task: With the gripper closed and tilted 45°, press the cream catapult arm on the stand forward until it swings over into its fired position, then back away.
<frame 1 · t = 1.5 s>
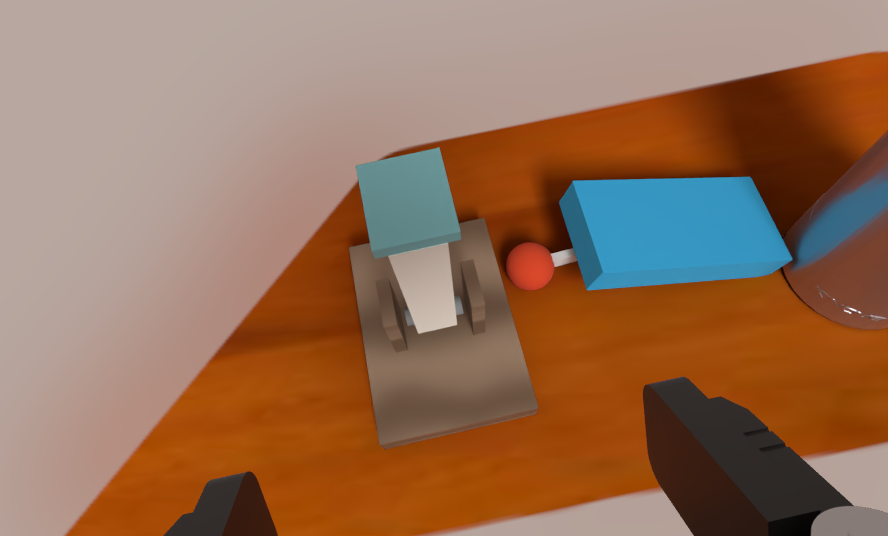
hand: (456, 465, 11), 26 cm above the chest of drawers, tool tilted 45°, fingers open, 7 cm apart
catapult arm: (422, 262, 29), point 11 cm above the chest of drawers, hinge at -5.0°
catapult stand: (438, 331, 39), on the chest of drawers
lever: (631, 257, 41), on the chest of drawers
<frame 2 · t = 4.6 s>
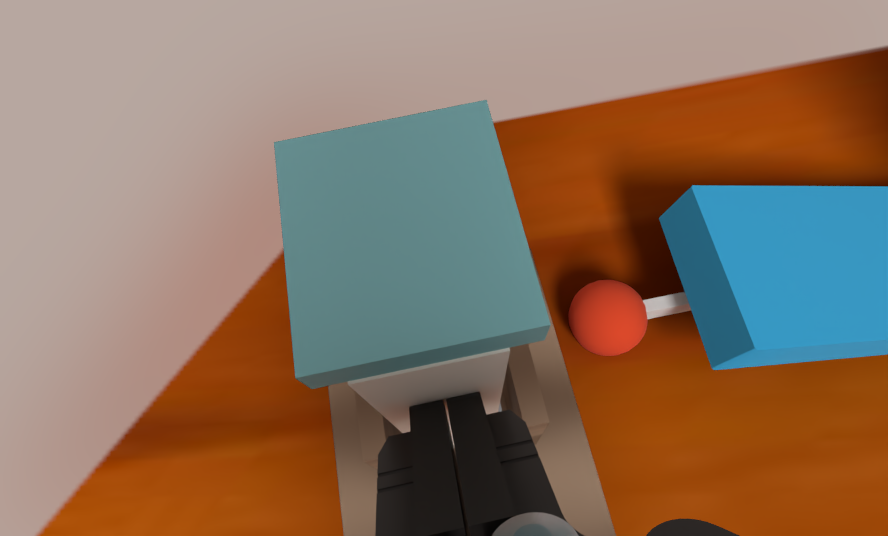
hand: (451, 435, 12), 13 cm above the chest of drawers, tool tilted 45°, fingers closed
catapult arm: (435, 347, 15), point 11 cm above the chest of drawers, hinge at -2.3°, touching gripper
catapult stand: (457, 429, 24), on the chest of drawers
lever: (759, 306, 26), on the chest of drawers
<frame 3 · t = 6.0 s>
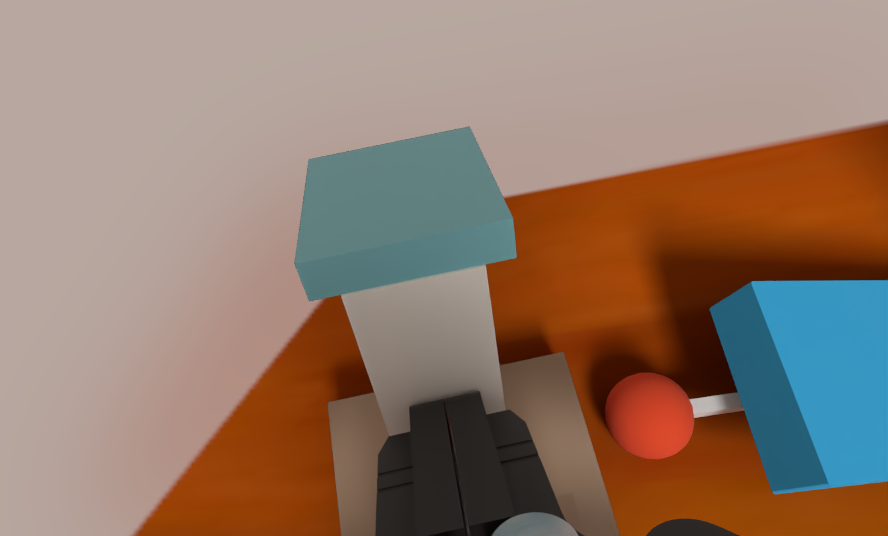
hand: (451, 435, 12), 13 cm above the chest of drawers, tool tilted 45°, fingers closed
catapult arm: (450, 422, 15), point 9 cm above the chest of drawers, hinge at 27.5°, touching gripper
lever: (815, 402, 24), on the chest of drawers
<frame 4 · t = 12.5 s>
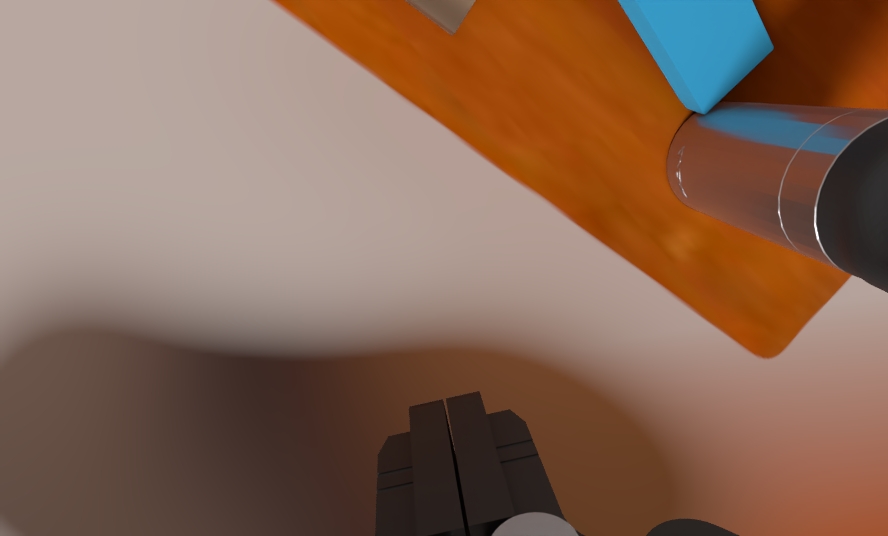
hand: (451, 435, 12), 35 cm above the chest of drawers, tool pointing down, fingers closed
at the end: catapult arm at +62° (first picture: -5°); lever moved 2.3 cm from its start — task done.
